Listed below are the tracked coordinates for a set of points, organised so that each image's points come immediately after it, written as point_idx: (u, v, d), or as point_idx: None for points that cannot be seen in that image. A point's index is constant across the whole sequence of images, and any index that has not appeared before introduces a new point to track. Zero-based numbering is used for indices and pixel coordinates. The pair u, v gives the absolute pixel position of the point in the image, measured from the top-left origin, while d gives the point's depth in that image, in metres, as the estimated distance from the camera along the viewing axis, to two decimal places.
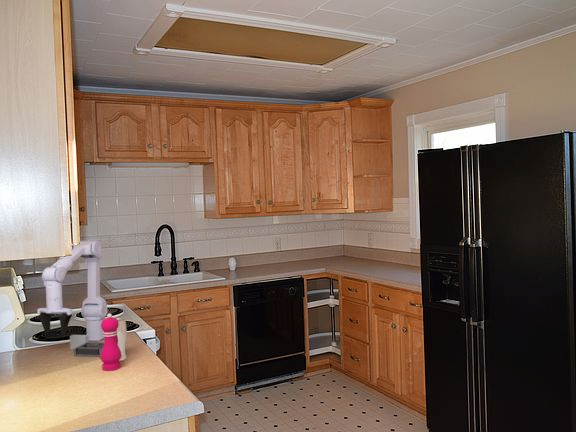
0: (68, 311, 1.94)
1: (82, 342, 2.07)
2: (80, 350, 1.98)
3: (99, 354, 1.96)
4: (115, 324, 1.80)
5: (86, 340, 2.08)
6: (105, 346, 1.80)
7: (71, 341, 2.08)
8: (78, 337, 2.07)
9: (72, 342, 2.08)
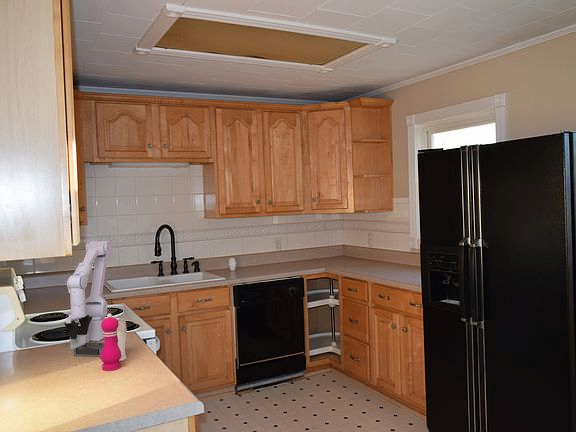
0: None
1: (82, 342, 2.07)
2: (80, 350, 1.98)
3: (99, 354, 1.96)
4: (115, 324, 1.80)
5: (86, 340, 2.08)
6: (105, 346, 1.80)
7: (71, 341, 2.08)
8: (78, 337, 2.07)
9: (72, 342, 2.08)
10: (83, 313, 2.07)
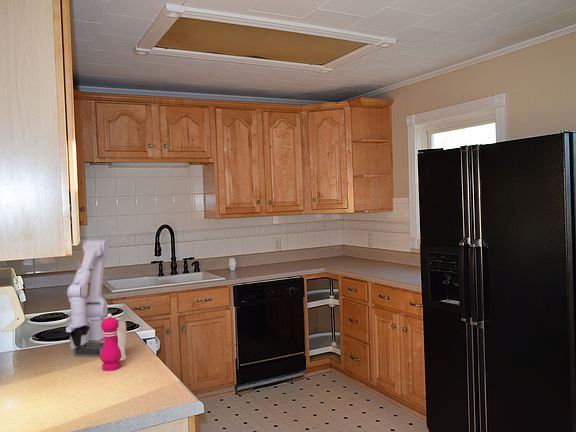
0: None
1: (82, 342, 2.07)
2: (80, 350, 1.98)
3: (99, 354, 1.96)
4: (115, 324, 1.80)
5: (86, 340, 2.08)
6: (105, 346, 1.80)
7: (71, 340, 2.08)
8: None
9: (72, 342, 2.08)
10: (83, 322, 2.07)
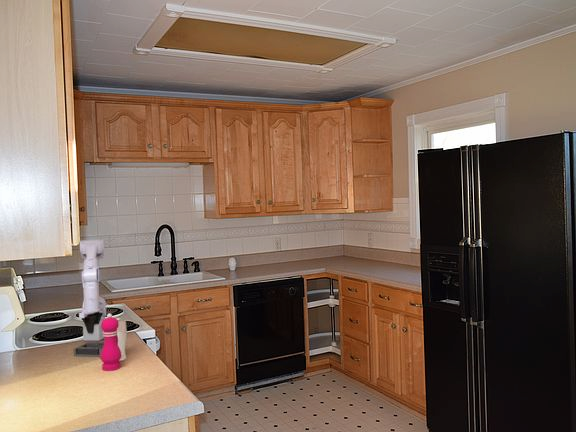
0: None
1: (95, 331, 2.00)
2: (80, 350, 1.98)
3: (99, 354, 1.96)
4: (115, 324, 1.80)
5: (100, 329, 2.00)
6: (105, 346, 1.80)
7: (84, 330, 2.01)
8: None
9: (85, 331, 2.01)
10: (97, 308, 2.00)
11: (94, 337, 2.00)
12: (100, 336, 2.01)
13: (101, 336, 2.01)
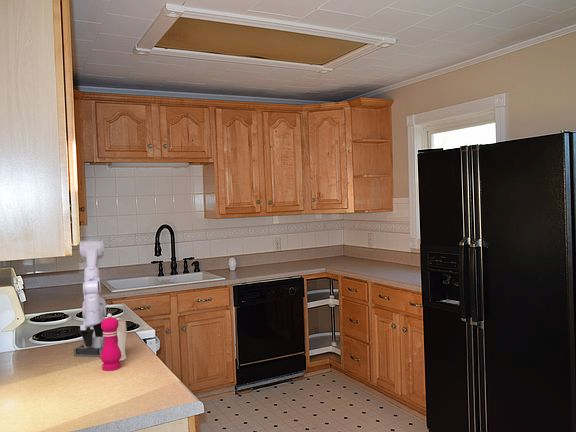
0: None
1: (97, 344, 2.00)
2: (80, 350, 1.98)
3: (99, 354, 1.96)
4: (115, 324, 1.80)
5: (101, 342, 2.00)
6: (105, 346, 1.80)
7: None
8: (92, 339, 2.00)
9: None
10: (98, 319, 2.00)
11: None
12: None
13: None
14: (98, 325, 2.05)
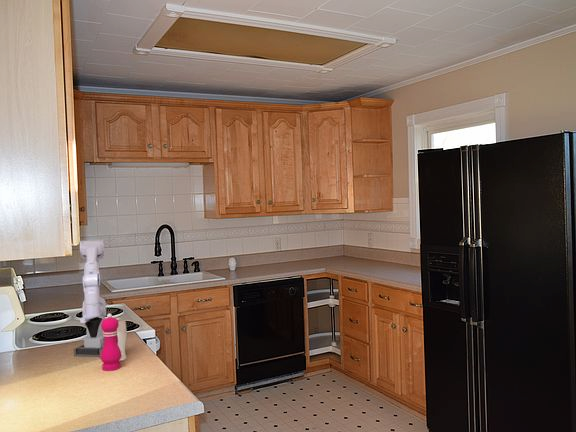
0: None
1: (97, 344, 2.00)
2: (80, 350, 1.98)
3: (99, 354, 1.96)
4: (115, 324, 1.80)
5: (101, 342, 2.00)
6: (105, 346, 1.80)
7: (85, 343, 2.01)
8: (92, 339, 2.00)
9: (86, 344, 2.01)
10: (98, 312, 2.00)
11: None
12: None
13: None
14: None
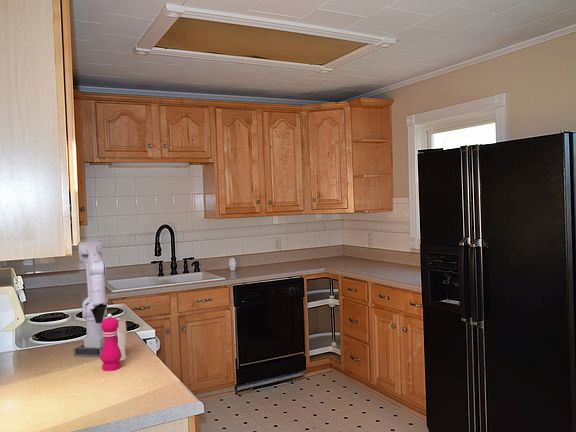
0: None
1: (97, 344, 2.00)
2: (80, 350, 1.98)
3: (99, 354, 1.96)
4: (115, 324, 1.80)
5: (101, 342, 2.00)
6: (105, 346, 1.80)
7: (85, 343, 2.01)
8: (92, 339, 2.00)
9: (86, 344, 2.01)
10: (104, 299, 2.08)
11: None
12: None
13: None
14: None
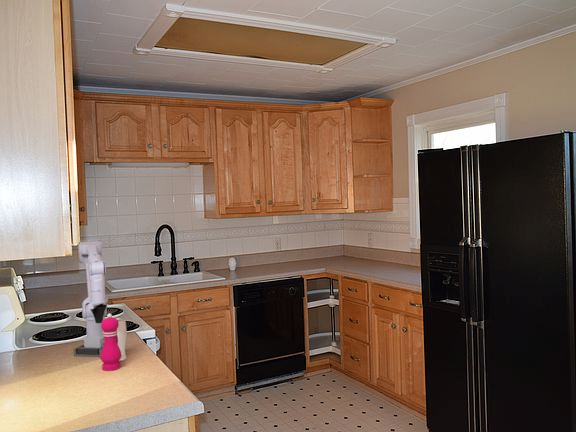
0: None
1: (97, 344, 2.00)
2: (80, 350, 1.98)
3: (99, 354, 1.96)
4: (115, 324, 1.80)
5: (101, 342, 2.00)
6: (105, 346, 1.80)
7: (85, 343, 2.01)
8: (92, 339, 2.00)
9: (86, 344, 2.01)
10: (104, 299, 2.08)
11: None
12: None
13: None
14: None
